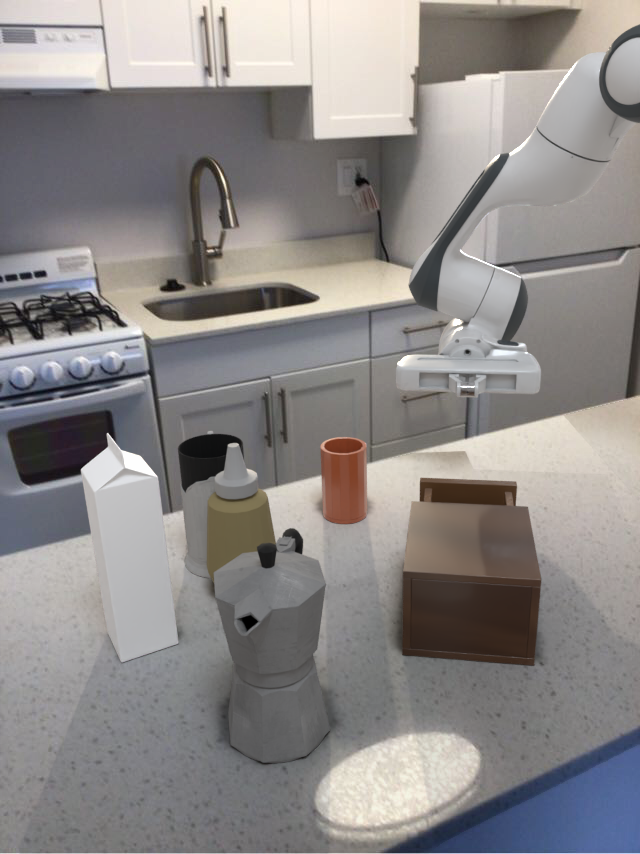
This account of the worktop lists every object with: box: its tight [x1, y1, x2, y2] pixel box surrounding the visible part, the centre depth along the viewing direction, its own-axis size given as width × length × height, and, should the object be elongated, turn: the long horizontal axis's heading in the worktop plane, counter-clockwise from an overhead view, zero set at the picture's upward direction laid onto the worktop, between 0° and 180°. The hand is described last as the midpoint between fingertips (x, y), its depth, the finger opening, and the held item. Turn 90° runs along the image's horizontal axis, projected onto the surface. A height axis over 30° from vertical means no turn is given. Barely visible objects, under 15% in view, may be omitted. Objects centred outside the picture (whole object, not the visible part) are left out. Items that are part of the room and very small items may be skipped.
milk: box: [80, 432, 179, 663], centre depth 74 cm, size 6×6×22 cm
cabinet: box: [401, 500, 542, 667], centre depth 78 cm, size 15×13×10 cm
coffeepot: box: [213, 527, 331, 764], centre depth 64 cm, size 15×9×18 cm, turn 167°
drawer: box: [419, 477, 518, 506], centre depth 88 cm, size 18×11×8 cm, turn 170°
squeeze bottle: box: [207, 443, 277, 584], centre depth 83 cm, size 8×8×18 cm
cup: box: [319, 436, 368, 525], centre depth 101 cm, size 6×6×10 cm
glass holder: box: [177, 430, 245, 579], centre depth 92 cm, size 9×14×15 cm, turn 9°
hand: (467, 392), depth 102 cm, fingers closed
